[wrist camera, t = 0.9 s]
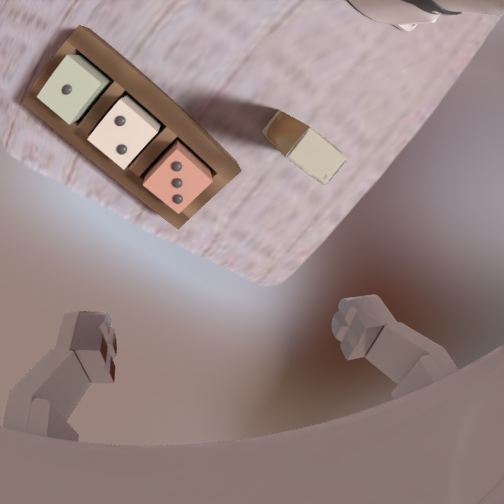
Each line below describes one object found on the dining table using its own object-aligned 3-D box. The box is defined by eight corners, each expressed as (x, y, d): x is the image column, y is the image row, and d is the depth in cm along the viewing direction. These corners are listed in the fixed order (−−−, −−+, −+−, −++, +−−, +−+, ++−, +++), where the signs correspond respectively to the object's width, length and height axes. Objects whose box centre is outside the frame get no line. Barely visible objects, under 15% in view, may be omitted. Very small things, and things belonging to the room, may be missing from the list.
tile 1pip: (81, 55, 25) (66, 54, 21) (112, 80, 28) (101, 83, 24) (53, 91, 27) (35, 97, 22) (82, 116, 30) (68, 124, 26)
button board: (89, 28, 24) (79, 25, 21) (236, 161, 41) (241, 170, 37) (35, 98, 27) (22, 102, 24) (178, 215, 44) (178, 229, 41)
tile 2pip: (128, 94, 30) (119, 99, 26) (161, 123, 33) (157, 132, 29) (98, 129, 32) (86, 139, 28) (130, 157, 35) (123, 170, 31)
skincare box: (310, 132, 40) (350, 159, 30) (292, 155, 42) (327, 188, 32) (276, 107, 37) (310, 125, 27) (258, 131, 39) (285, 158, 29)
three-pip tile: (177, 138, 35) (176, 149, 31) (209, 167, 38) (212, 182, 34) (147, 170, 37) (142, 185, 33) (179, 197, 40) (178, 214, 36)
